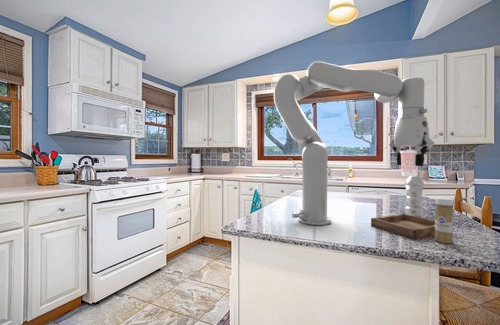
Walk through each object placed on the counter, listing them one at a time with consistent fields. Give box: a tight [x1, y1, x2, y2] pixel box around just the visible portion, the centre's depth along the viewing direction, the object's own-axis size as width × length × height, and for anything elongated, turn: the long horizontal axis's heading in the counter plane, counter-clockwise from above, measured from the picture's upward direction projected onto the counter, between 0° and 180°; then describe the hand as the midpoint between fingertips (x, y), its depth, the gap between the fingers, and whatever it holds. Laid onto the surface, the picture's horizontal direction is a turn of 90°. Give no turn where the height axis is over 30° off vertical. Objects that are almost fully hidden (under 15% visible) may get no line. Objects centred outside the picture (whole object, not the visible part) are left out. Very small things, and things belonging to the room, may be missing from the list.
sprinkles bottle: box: [433, 196, 455, 244], centre depth 78 cm, size 5×5×13 cm
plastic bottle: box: [404, 169, 425, 218], centre depth 106 cm, size 6×7×20 cm
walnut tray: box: [370, 213, 435, 241], centre depth 90 cm, size 18×16×3 cm
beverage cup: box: [400, 146, 419, 177], centre depth 89 cm, size 6×6×14 cm
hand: (409, 165), depth 89 cm, fingers closed on beverage cup, 6 cm apart
